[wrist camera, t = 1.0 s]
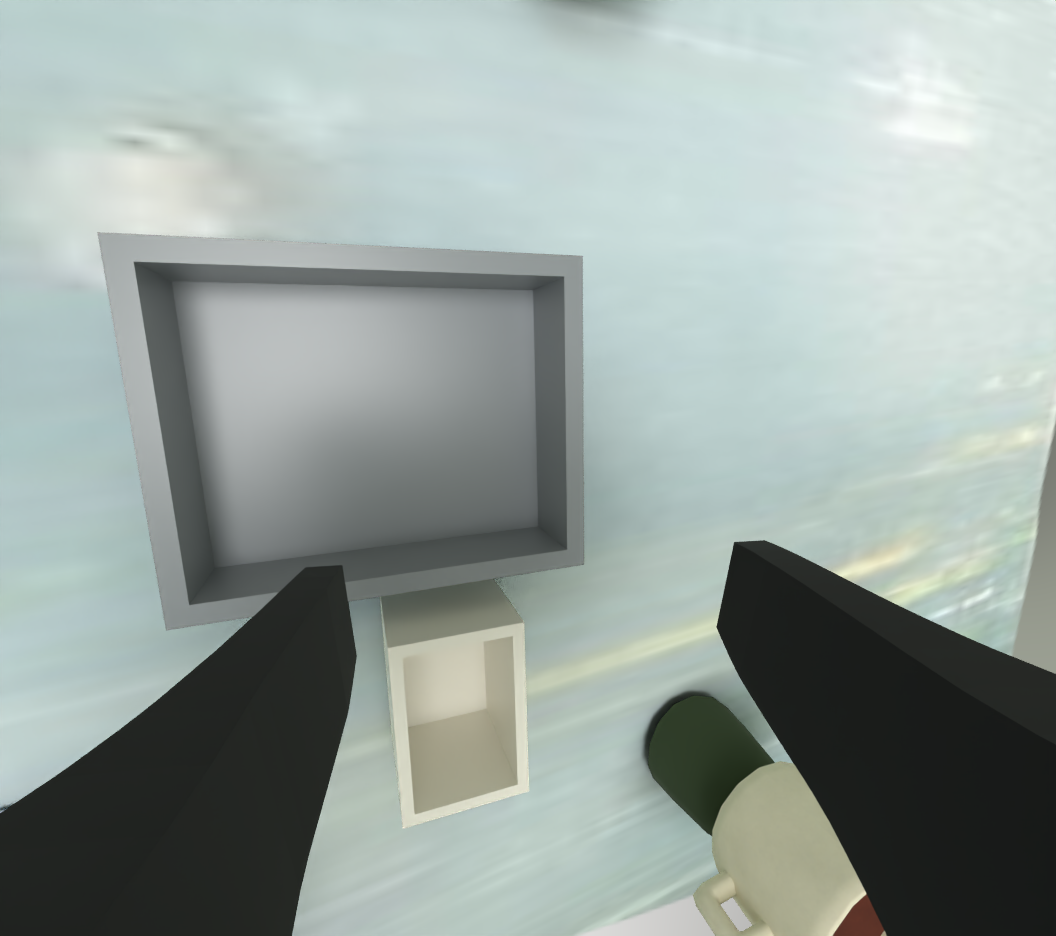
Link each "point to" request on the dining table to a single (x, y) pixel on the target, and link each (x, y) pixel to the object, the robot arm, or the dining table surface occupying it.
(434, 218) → the dining table surface
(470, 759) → the cream crate
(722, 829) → the character mug
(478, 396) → the grey crate
